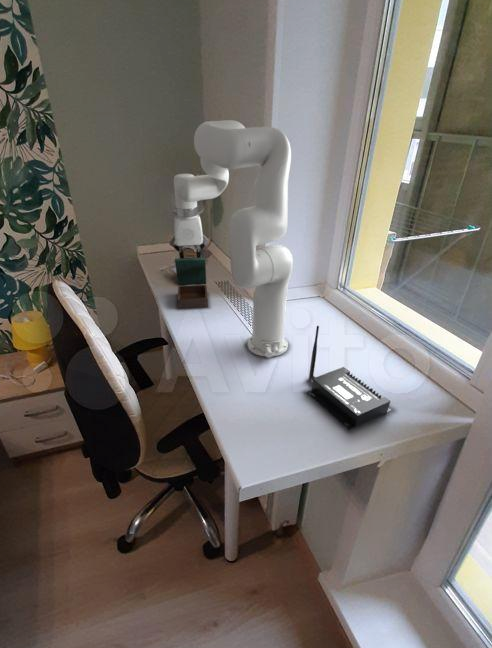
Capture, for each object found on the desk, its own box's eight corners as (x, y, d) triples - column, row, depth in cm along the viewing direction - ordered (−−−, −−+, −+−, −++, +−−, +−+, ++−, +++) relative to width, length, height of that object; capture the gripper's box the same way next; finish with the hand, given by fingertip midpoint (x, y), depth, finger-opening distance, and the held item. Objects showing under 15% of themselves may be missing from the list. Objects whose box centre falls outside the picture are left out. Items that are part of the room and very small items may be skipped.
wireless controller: (392, 410, 94) (409, 352, 84) (349, 430, 88) (362, 371, 79) (336, 368, 109) (345, 315, 99) (296, 383, 103) (302, 329, 94)
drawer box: (208, 307, 142) (207, 298, 140) (178, 309, 142) (177, 299, 140) (206, 293, 153) (206, 284, 151) (179, 294, 152) (178, 285, 150)
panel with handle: (205, 259, 139) (204, 248, 142) (174, 260, 138) (174, 250, 141) (206, 284, 150) (205, 273, 153) (178, 285, 150) (177, 275, 153)
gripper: (162, 216, 132) (167, 266, 142) (211, 213, 133) (213, 263, 143) (163, 210, 138) (168, 259, 148) (210, 208, 139) (212, 257, 149)
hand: (190, 261), depth 145 cm, fingers closed on panel with handle, 5 cm apart
